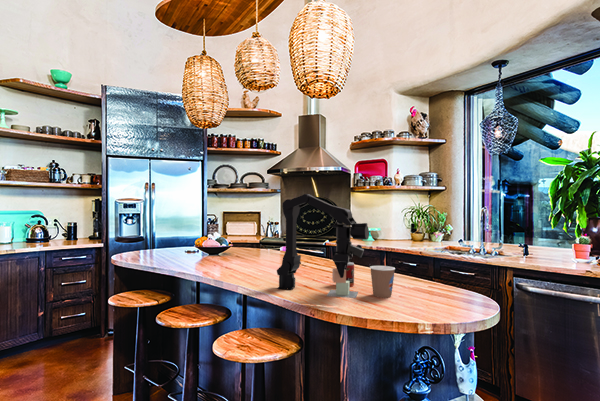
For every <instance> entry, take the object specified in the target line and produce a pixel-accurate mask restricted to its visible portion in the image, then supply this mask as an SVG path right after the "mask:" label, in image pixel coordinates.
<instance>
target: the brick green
mask: <svg viewBox="0 0 600 401" xmlns="http://www.w3.org/2000/svg"><path fill="white" fill-rule="evenodd" d="M350 288H351V287H350V281H346V283H335V290H336V295H349V291H350Z"/></svg>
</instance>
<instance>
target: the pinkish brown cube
mask: <svg viewBox="0 0 600 401" xmlns="http://www.w3.org/2000/svg"><path fill="white" fill-rule="evenodd" d="M331 275H332V279H331V280H332V282H333V283H335V284H336V283H346V270H345V271H344V276H343V278H340V275H339V273H338V270H337V268H335V267H334V268H333V267H332V274H331Z"/></svg>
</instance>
